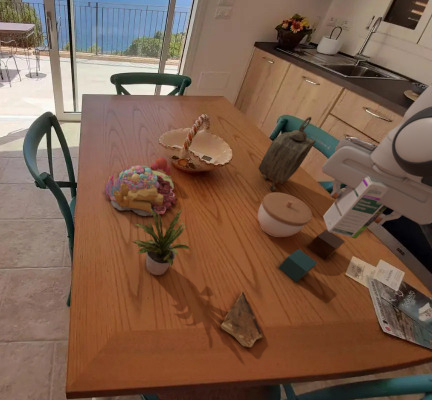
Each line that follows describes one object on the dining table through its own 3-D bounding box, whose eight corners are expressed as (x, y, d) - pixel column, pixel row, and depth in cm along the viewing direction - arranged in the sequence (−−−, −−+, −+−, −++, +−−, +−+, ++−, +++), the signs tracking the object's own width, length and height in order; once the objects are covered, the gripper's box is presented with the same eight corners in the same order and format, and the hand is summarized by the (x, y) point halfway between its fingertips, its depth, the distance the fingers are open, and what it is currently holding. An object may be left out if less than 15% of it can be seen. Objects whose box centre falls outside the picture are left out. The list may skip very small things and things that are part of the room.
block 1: (306, 273, 70) (317, 262, 66) (296, 282, 68) (306, 271, 64) (289, 259, 73) (298, 248, 69) (278, 267, 71) (287, 256, 67)
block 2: (333, 252, 76) (345, 241, 72) (324, 259, 74) (336, 248, 70) (316, 240, 79) (326, 229, 75) (307, 246, 77) (317, 235, 73)
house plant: (142, 233, 77) (151, 190, 66) (189, 253, 72) (207, 211, 61) (120, 270, 67) (126, 227, 56) (172, 296, 63) (189, 255, 52)
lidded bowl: (267, 247, 76) (286, 220, 68) (242, 215, 85) (257, 188, 77) (304, 241, 78) (327, 215, 70) (277, 211, 87) (295, 185, 80)
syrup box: (327, 232, 62) (372, 184, 53) (321, 215, 67) (361, 168, 57) (355, 239, 61) (405, 191, 52) (347, 221, 66) (392, 174, 56)
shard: (240, 294, 64) (243, 290, 63) (272, 317, 61) (276, 314, 59) (218, 326, 58) (221, 322, 57) (252, 354, 55) (255, 351, 53)
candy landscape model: (181, 219, 82) (189, 197, 76) (104, 216, 81) (105, 193, 75) (169, 171, 100) (174, 149, 94) (106, 168, 99) (107, 146, 93)
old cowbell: (274, 195, 93) (314, 129, 76) (249, 182, 98) (283, 117, 81) (291, 179, 100) (331, 116, 84) (267, 168, 105) (301, 106, 88)
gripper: (338, 136, 56) (302, 187, 65) (469, 193, 43) (402, 246, 52) (352, 129, 58) (316, 179, 68) (480, 182, 46) (414, 234, 55)
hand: (354, 209), depth 60 cm, fingers closed on syrup box, 8 cm apart
